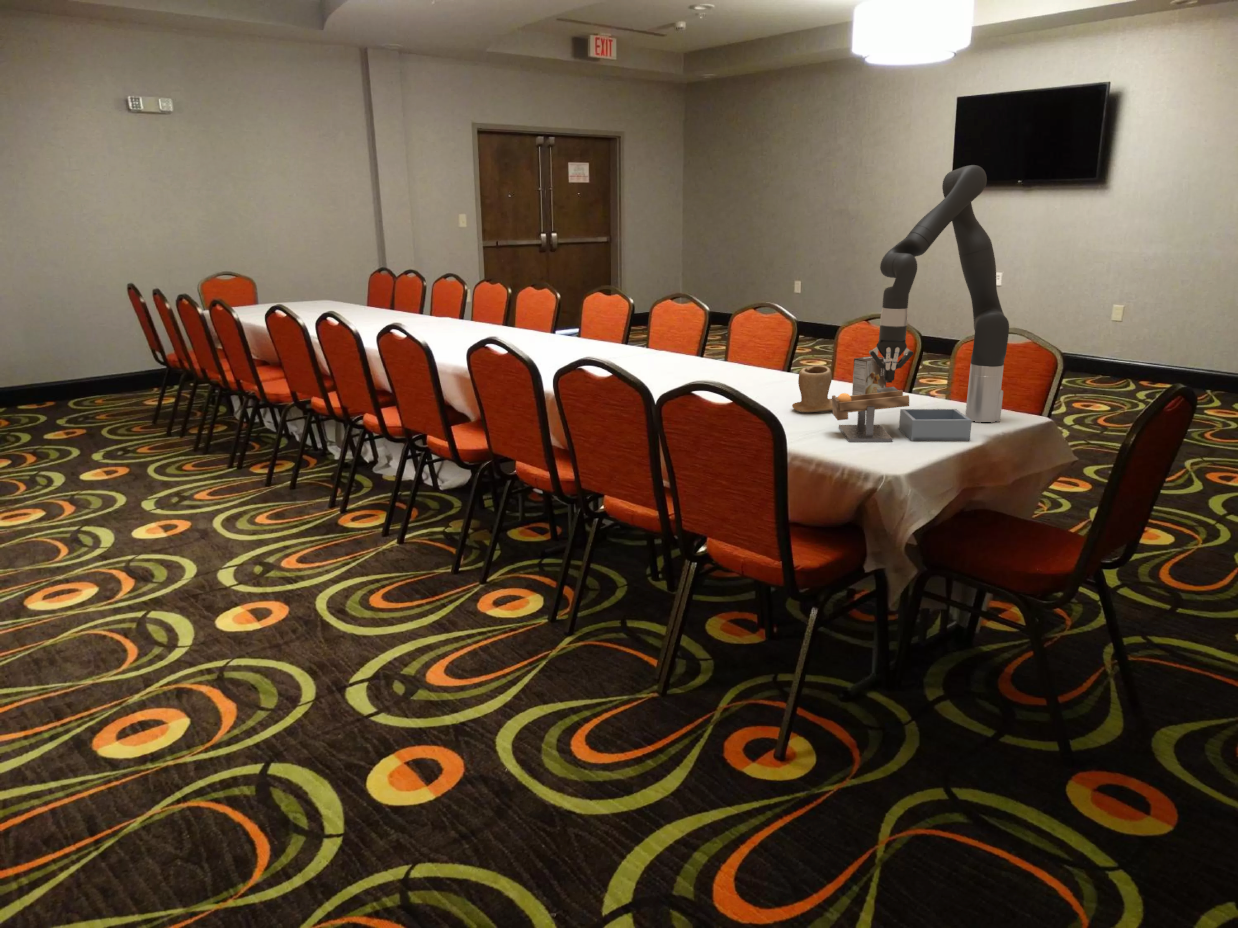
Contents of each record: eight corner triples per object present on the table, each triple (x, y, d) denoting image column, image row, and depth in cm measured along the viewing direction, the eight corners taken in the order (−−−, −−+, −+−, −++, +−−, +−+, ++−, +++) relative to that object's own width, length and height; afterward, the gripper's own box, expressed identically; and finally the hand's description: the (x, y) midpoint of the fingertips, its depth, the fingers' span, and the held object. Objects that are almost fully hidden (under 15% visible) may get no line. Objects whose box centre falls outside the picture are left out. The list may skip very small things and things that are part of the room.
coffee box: (871, 402, 284) (874, 355, 279) (885, 406, 278) (888, 358, 274) (850, 405, 280) (853, 357, 275) (864, 409, 274) (867, 360, 270)
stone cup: (800, 417, 266) (802, 370, 262) (788, 408, 278) (790, 363, 273) (846, 414, 268) (849, 368, 264) (832, 406, 279) (834, 361, 275)
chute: (894, 399, 254) (893, 381, 252) (910, 413, 236) (909, 394, 235) (827, 406, 256) (826, 388, 254) (838, 420, 238) (836, 401, 237)
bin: (954, 428, 248) (955, 408, 247) (969, 441, 235) (971, 420, 233) (898, 428, 249) (900, 409, 248) (911, 441, 236) (913, 420, 234)
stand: (879, 428, 251) (881, 396, 248) (892, 442, 235) (894, 408, 233) (838, 428, 252) (840, 396, 249) (848, 442, 236) (850, 408, 234)
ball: (851, 402, 243) (847, 390, 242) (854, 405, 239) (850, 392, 238) (838, 407, 244) (834, 394, 243) (840, 410, 240) (836, 397, 239)
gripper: (913, 322, 247) (908, 379, 252) (867, 321, 248) (863, 379, 253) (920, 325, 240) (914, 384, 245) (873, 325, 241) (868, 384, 246)
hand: (888, 382), depth 249 cm, fingers closed
